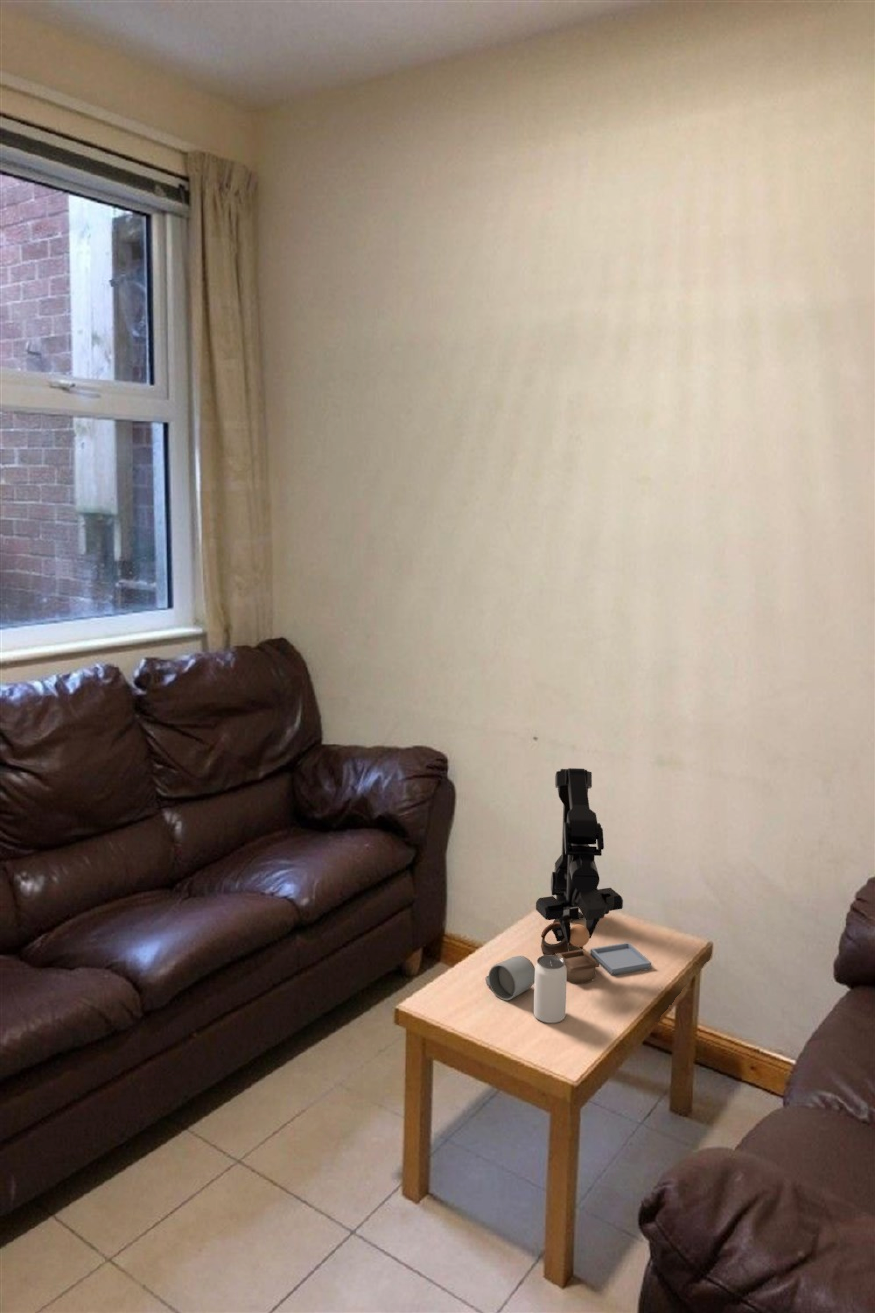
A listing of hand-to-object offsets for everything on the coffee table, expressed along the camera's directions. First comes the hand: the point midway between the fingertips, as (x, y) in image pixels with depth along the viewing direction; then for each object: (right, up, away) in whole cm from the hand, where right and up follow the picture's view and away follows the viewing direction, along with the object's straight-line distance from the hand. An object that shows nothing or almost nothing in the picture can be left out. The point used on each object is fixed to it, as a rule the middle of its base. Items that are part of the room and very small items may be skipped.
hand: (578, 939), depth 206 cm
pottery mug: (-2, -7, +12) cm, 14 cm away
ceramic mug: (-16, -10, -5) cm, 19 cm away
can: (-8, -11, -15) cm, 20 cm away
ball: (0, +1, 0) cm, 1 cm away
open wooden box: (0, -8, +2) cm, 8 cm away
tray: (+11, -7, +7) cm, 15 cm away
